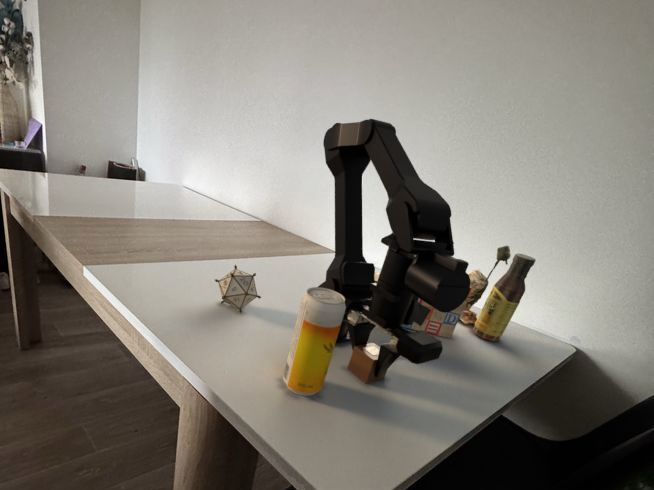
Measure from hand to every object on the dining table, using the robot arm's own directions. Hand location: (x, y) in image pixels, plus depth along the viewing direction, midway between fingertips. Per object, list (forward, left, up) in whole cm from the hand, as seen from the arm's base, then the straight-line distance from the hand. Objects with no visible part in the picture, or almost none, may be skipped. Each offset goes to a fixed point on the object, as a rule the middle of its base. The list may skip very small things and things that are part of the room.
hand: (367, 368), depth 65 cm
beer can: (-13, +1, -1) cm, 13 cm away
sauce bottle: (+43, +2, -1) cm, 43 cm away
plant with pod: (+47, +11, -1) cm, 48 cm away
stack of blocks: (+25, +13, -1) cm, 29 cm away
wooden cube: (0, 0, -1) cm, 1 cm away
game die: (-10, +28, -1) cm, 30 cm away
